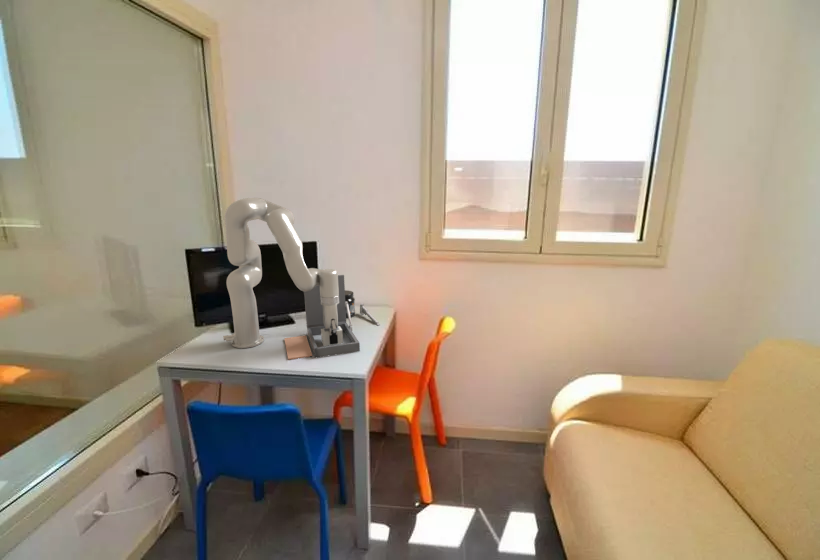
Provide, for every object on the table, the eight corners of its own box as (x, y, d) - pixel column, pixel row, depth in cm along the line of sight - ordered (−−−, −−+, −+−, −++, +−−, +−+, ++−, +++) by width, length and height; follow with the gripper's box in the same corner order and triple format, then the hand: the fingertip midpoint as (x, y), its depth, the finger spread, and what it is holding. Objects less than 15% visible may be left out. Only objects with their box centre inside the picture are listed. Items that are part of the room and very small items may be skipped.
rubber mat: (288, 360, 151) (288, 358, 151) (284, 339, 171) (284, 338, 171) (312, 356, 154) (312, 354, 154) (306, 336, 174) (306, 335, 174)
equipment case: (315, 357, 153) (310, 293, 147) (307, 334, 177) (303, 278, 171) (362, 350, 159) (360, 288, 153) (348, 328, 183) (346, 274, 177)
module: (323, 346, 164) (322, 332, 162) (321, 342, 168) (320, 328, 167) (342, 343, 166) (342, 329, 165) (340, 339, 171) (339, 325, 169)
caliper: (359, 314, 204) (359, 302, 202) (361, 314, 204) (361, 302, 203) (377, 326, 187) (377, 313, 185) (379, 325, 187) (379, 312, 186)
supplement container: (329, 316, 201) (328, 293, 198) (345, 311, 209) (344, 288, 206) (343, 320, 194) (342, 296, 191) (359, 315, 202) (358, 292, 199)
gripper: (317, 295, 169) (320, 334, 174) (323, 306, 154) (326, 349, 158) (335, 293, 172) (337, 332, 176) (343, 304, 156) (345, 346, 160)
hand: (332, 339), depth 167 cm, fingers open, 7 cm apart
